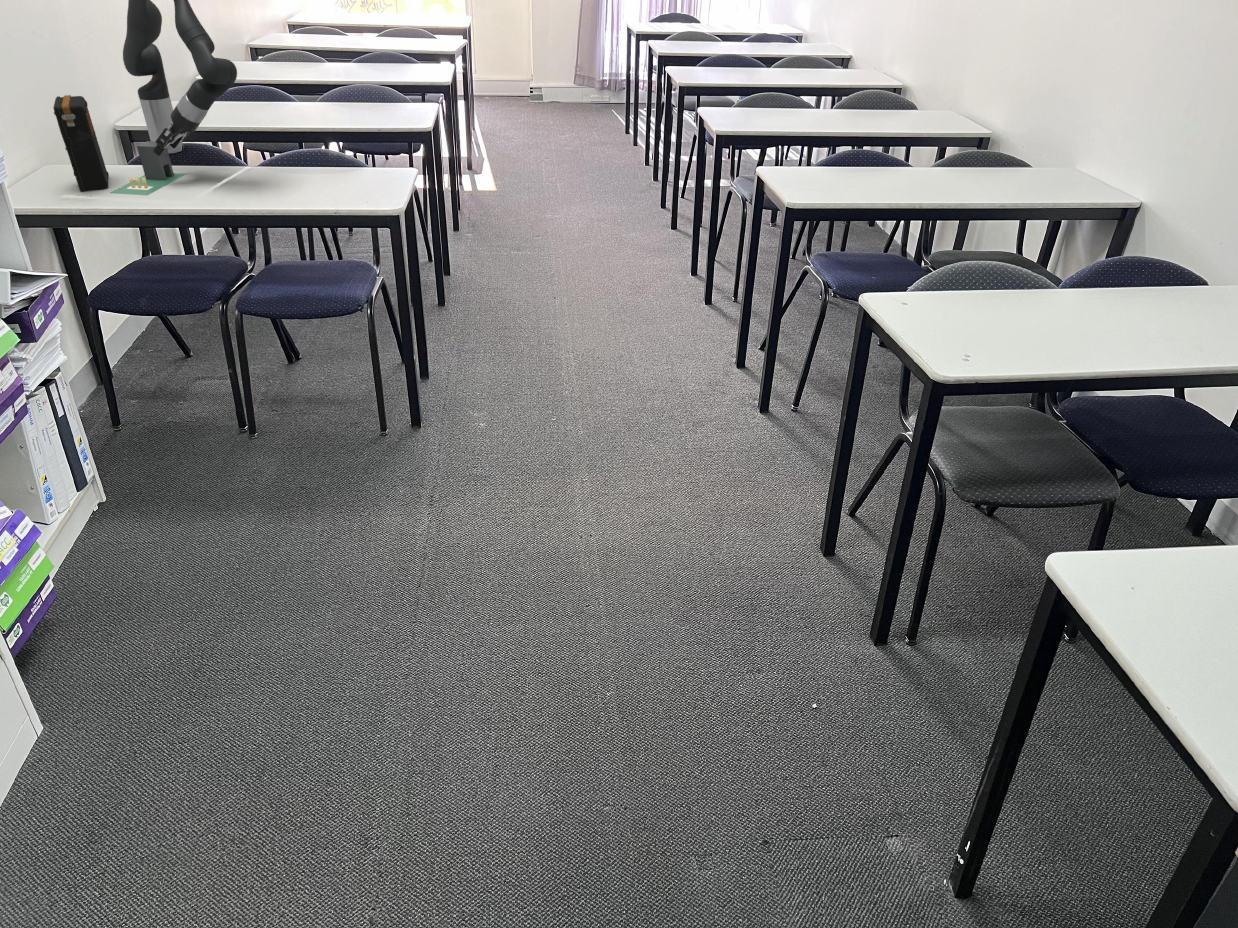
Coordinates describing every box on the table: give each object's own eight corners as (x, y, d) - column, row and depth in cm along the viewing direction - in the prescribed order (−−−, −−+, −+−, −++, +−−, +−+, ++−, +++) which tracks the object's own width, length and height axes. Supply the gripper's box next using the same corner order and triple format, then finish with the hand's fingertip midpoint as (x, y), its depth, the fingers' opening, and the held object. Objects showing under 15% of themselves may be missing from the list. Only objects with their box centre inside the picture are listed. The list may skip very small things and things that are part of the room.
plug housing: (156, 174, 279) (147, 141, 274) (174, 175, 279) (165, 142, 273) (146, 179, 275) (136, 146, 269) (164, 180, 274) (155, 147, 269)
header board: (151, 175, 282) (148, 162, 280) (187, 177, 281) (184, 164, 279) (110, 196, 264) (106, 182, 262) (148, 198, 263) (144, 185, 260)
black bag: (79, 181, 275) (51, 95, 261) (110, 178, 278) (85, 93, 264) (77, 196, 264) (48, 107, 250) (110, 192, 267) (83, 104, 253)
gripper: (192, 97, 269) (166, 134, 276) (166, 107, 257) (140, 146, 265) (212, 116, 271) (186, 153, 279) (188, 127, 260) (161, 165, 267)
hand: (164, 150), depth 272 cm, fingers open, 8 cm apart
